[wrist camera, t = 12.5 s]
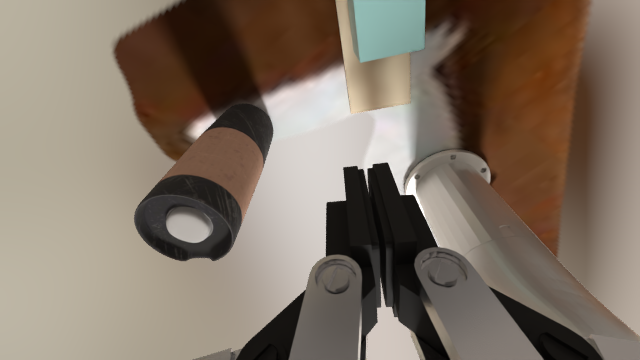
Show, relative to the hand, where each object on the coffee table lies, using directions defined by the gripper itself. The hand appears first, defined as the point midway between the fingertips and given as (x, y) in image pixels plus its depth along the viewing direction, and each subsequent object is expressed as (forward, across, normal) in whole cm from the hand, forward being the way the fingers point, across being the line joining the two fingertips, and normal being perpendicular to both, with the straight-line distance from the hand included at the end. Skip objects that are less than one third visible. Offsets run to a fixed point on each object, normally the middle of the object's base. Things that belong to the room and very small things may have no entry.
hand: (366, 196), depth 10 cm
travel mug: (+26, +14, +6) cm, 30 cm away
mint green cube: (+24, -4, -5) cm, 24 cm away
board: (+26, -4, -2) cm, 26 cm away
